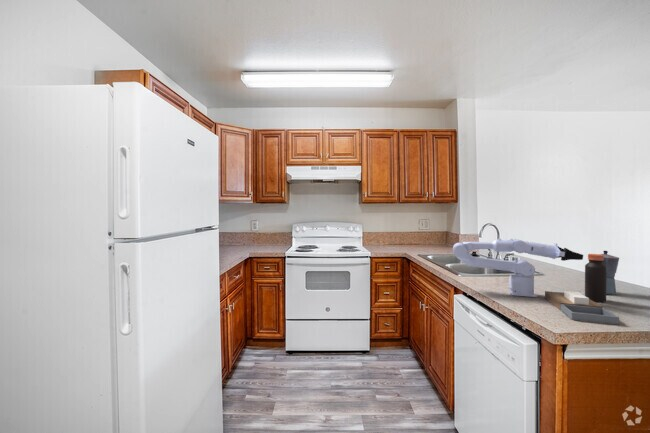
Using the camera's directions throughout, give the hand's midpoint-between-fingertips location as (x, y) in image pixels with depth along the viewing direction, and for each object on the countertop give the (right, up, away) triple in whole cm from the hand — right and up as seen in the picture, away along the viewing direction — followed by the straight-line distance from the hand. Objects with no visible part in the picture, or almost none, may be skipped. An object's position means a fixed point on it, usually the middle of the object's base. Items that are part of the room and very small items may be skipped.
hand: (578, 256), depth 124 cm
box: (-15, -20, -20) cm, 32 cm away
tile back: (-9, -16, -8) cm, 20 cm away
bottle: (+6, -19, -1) cm, 20 cm away
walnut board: (-10, -19, -7) cm, 23 cm away
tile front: (-11, -17, -12) cm, 23 cm away
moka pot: (+20, -19, +10) cm, 29 cm away
